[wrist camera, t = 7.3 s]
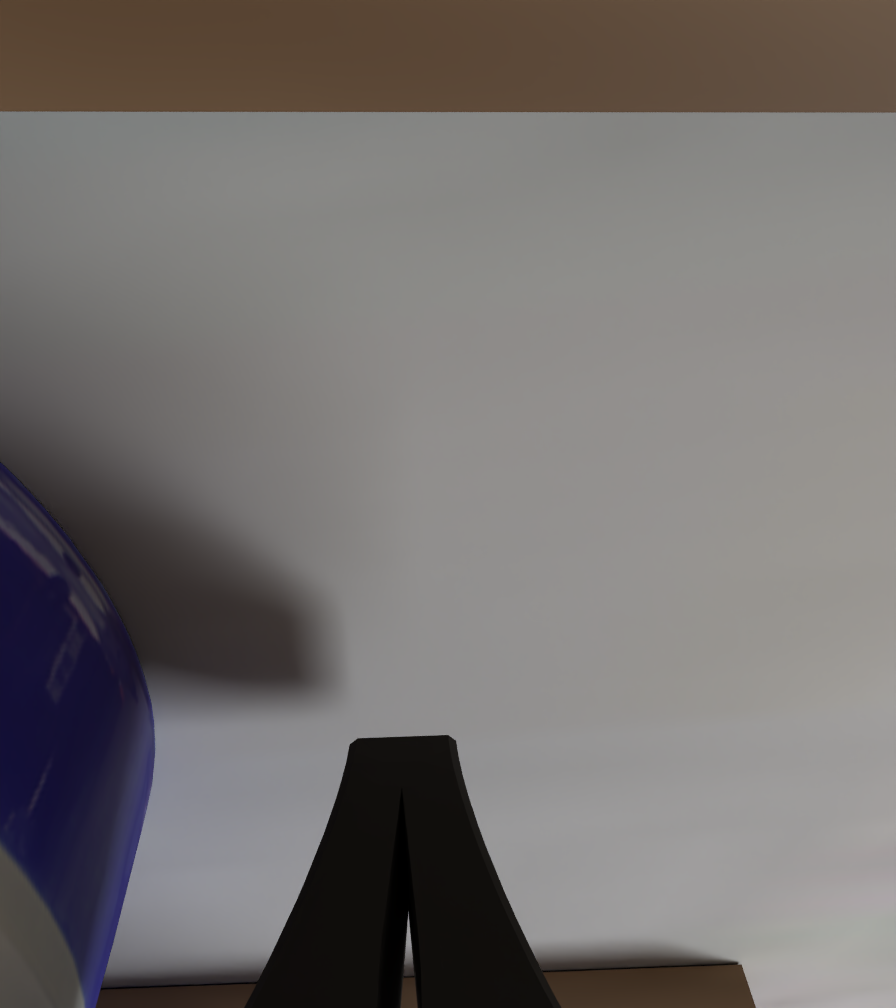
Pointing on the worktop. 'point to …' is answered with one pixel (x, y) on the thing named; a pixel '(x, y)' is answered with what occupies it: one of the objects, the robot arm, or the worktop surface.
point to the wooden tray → (454, 88)
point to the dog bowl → (63, 762)
